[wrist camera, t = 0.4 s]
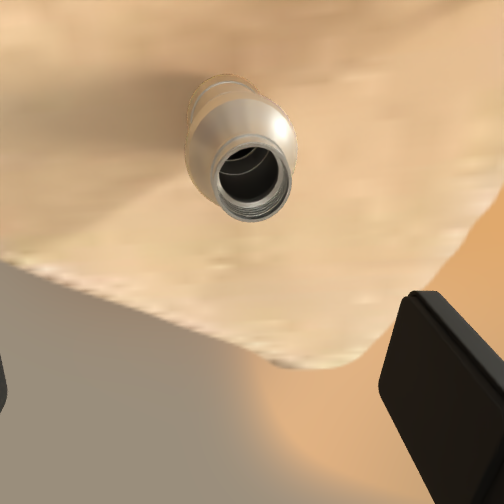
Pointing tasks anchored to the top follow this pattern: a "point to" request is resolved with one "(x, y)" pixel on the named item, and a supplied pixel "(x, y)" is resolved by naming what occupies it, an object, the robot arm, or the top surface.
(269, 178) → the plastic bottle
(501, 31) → the top surface
